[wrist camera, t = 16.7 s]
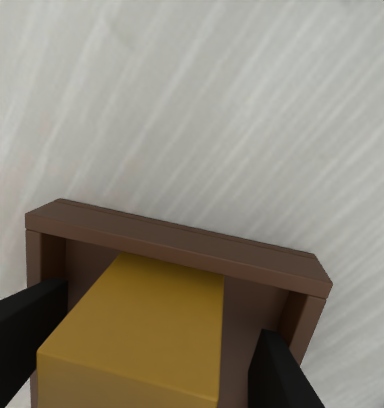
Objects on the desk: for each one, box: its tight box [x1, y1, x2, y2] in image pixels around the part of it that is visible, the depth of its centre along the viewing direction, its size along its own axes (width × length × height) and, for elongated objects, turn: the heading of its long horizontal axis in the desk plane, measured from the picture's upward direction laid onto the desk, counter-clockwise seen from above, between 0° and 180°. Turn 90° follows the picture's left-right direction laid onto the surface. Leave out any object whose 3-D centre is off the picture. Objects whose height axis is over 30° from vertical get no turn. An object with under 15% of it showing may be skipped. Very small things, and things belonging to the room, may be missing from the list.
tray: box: [25, 199, 333, 408], centre depth 11 cm, size 12×10×2 cm
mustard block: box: [37, 251, 224, 408], centre depth 8 cm, size 4×4×5 cm
